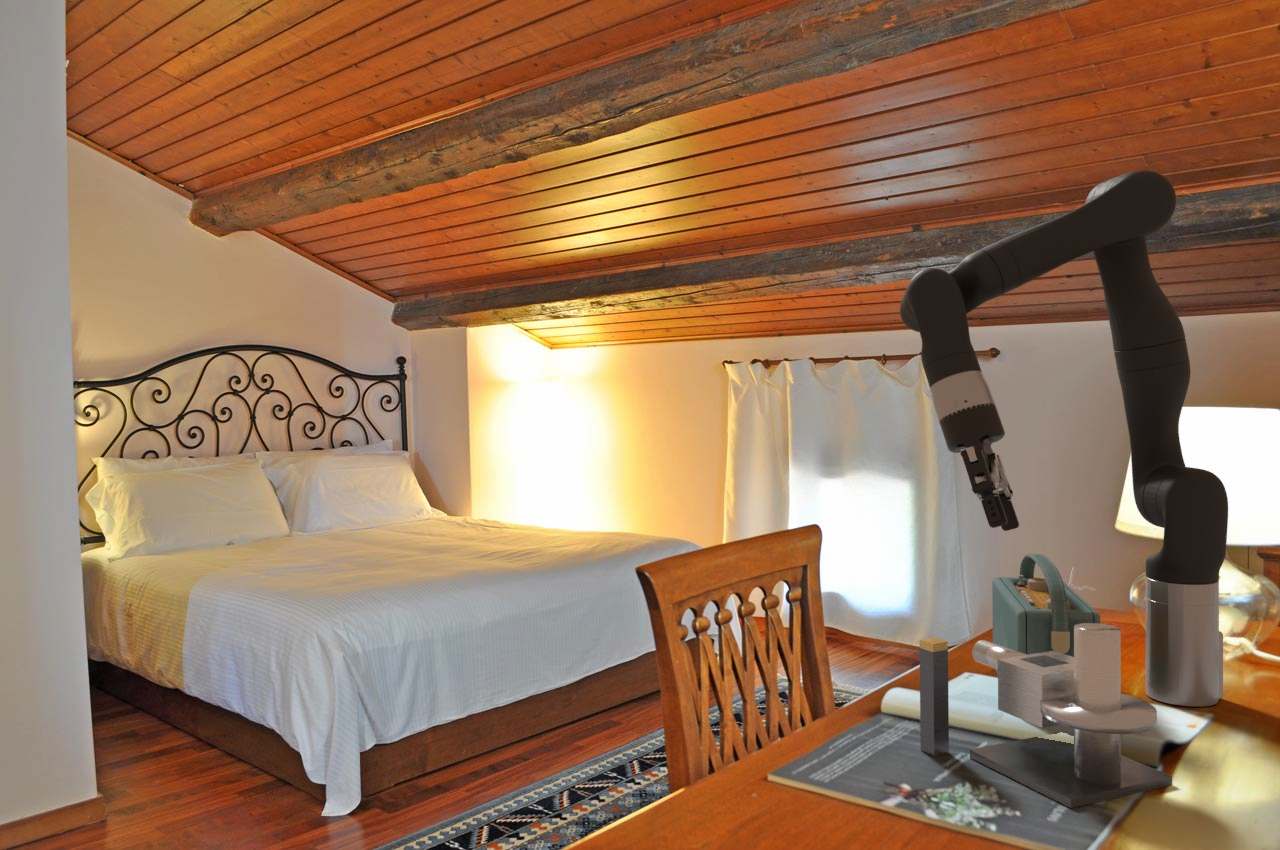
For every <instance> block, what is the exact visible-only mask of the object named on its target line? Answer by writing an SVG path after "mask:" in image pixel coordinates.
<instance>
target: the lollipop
mask: <svg viewBox="0 0 1280 850" xmlns="http://www.w3.org/2000/svg"><path fill="white" fill-rule="evenodd" d="M1074 573H1075V567H1072V568H1071V572H1070V575H1069V582H1068V584H1067V585H1068V586H1069V587H1070V588H1071V589H1072V590H1073V589H1076V590H1078V591H1082V590H1084V589H1086V590H1089V591H1093V592H1097V591H1098V590H1097V588H1095V587H1093V586H1090V585H1082V587H1080V586H1077V585H1075V584H1073V579H1074Z"/></svg>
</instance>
